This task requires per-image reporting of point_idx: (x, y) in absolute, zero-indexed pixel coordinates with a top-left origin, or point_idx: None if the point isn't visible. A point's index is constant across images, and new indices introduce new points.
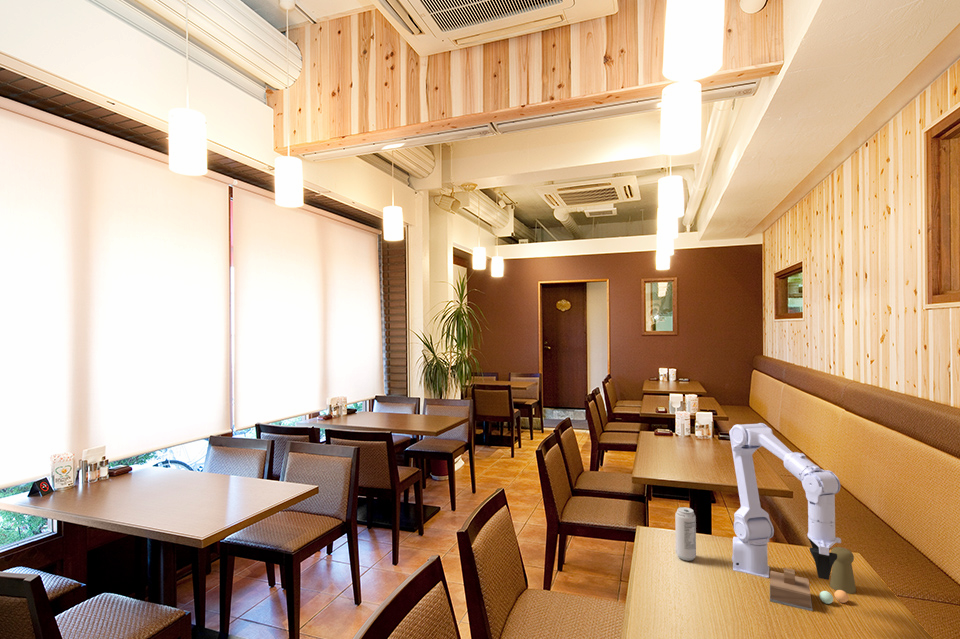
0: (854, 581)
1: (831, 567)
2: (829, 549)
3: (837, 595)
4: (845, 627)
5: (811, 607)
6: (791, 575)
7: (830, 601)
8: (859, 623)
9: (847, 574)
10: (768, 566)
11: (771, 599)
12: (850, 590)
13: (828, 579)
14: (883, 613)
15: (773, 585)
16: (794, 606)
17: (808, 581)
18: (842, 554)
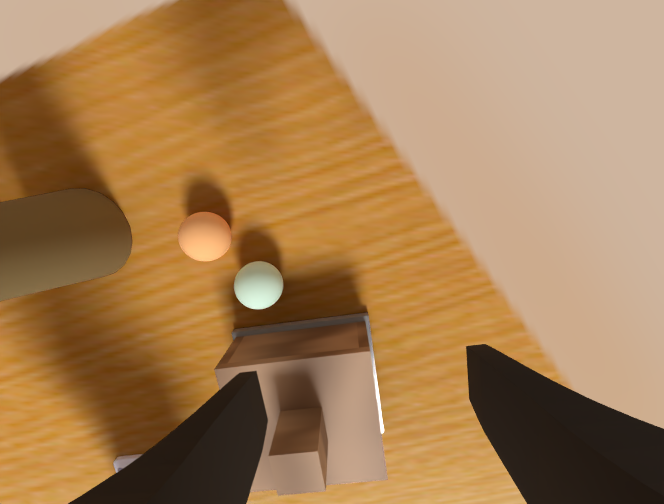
0: (36, 196)
1: (600, 405)
2: (165, 486)
3: (223, 250)
4: (417, 209)
5: (354, 319)
6: (320, 453)
7: (276, 268)
8: (351, 167)
9: (40, 228)
10: (121, 462)
11: (383, 428)
12: (104, 207)
13: (486, 345)
14: (197, 87)
15: (384, 470)
16: (374, 363)
17: (242, 366)
18: None
